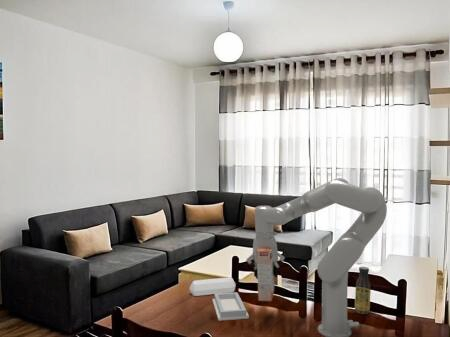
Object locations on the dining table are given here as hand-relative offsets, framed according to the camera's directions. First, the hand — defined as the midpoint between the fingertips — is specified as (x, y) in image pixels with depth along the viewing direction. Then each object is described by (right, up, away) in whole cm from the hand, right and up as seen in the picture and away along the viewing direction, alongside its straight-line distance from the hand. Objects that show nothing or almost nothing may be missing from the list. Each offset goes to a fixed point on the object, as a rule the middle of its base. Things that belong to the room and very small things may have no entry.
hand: (266, 277), depth 168 cm
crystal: (-23, -18, +34) cm, 45 cm away
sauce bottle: (+43, -18, +7) cm, 47 cm away
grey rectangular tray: (-15, -18, +12) cm, 26 cm away
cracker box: (0, -8, 0) cm, 8 cm away
